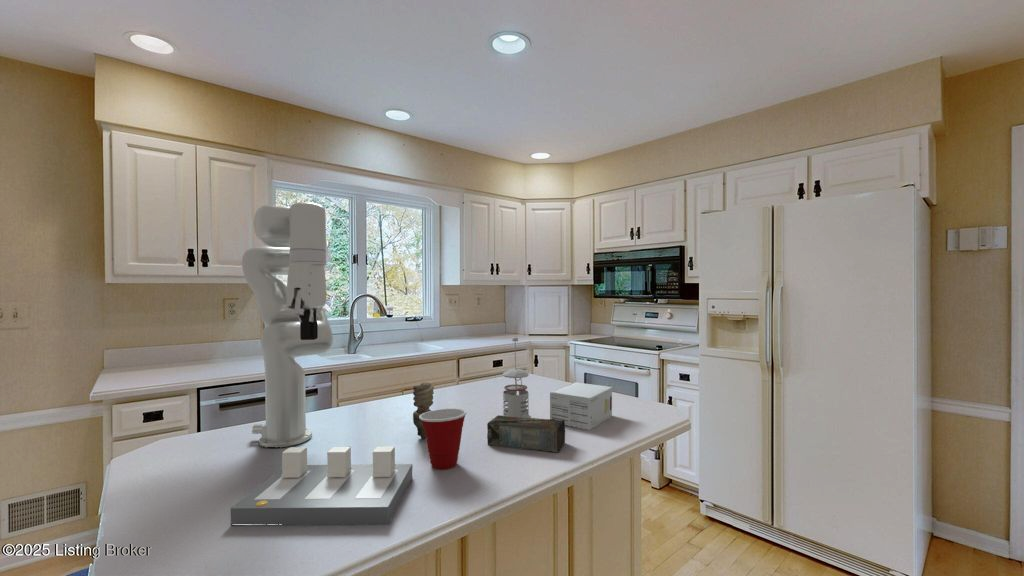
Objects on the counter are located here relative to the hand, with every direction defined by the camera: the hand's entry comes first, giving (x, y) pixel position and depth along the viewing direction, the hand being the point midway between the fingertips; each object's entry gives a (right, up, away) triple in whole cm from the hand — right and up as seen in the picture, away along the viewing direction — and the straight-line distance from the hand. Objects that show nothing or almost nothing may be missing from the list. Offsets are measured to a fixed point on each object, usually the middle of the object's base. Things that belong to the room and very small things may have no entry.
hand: (309, 339), depth 98 cm
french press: (+47, -29, +36) cm, 66 cm away
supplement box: (+67, -29, +34) cm, 81 cm away
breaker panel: (+11, -29, -15) cm, 35 cm away
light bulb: (+22, -29, +18) cm, 41 cm away
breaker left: (+2, -26, -11) cm, 28 cm away
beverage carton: (+50, -29, +13) cm, 59 cm away
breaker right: (+20, -26, -11) cm, 34 cm away
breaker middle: (+11, -26, -11) cm, 30 cm away
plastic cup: (+30, -29, +1) cm, 42 cm away
